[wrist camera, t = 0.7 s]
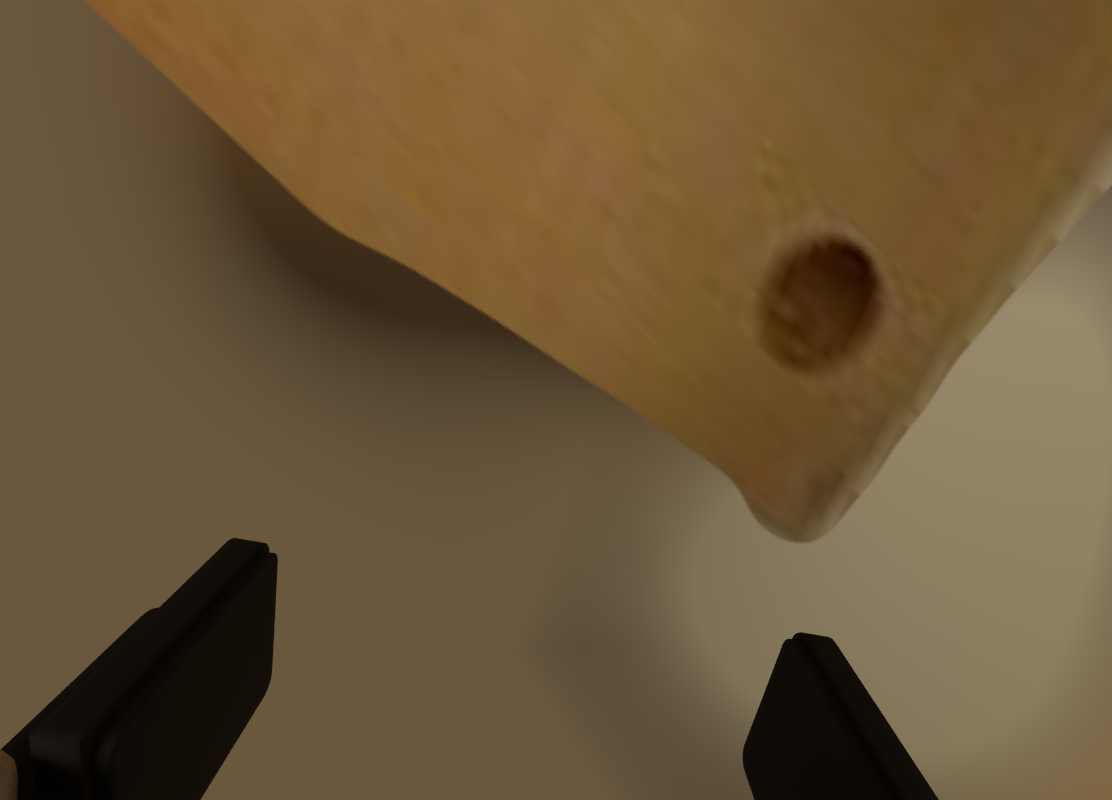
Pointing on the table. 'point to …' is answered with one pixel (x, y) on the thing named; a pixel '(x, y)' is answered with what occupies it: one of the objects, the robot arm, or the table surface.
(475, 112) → the table surface
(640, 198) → the table surface
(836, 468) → the table surface
